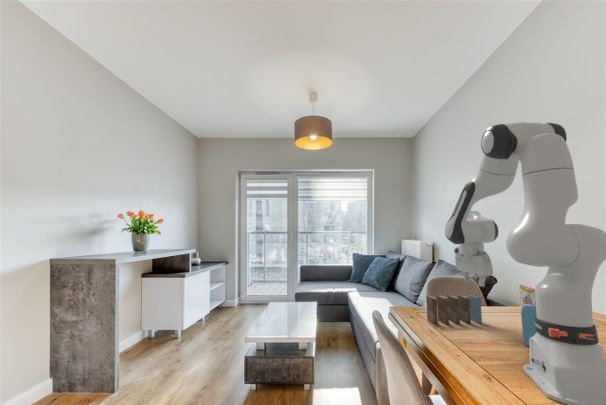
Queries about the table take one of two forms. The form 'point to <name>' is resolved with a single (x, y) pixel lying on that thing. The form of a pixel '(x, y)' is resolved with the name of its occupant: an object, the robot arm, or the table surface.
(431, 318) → the domino
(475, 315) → the domino
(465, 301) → the domino
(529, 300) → the candy bar box
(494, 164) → the robot arm
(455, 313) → the domino
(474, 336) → the table surface
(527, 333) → the data package
